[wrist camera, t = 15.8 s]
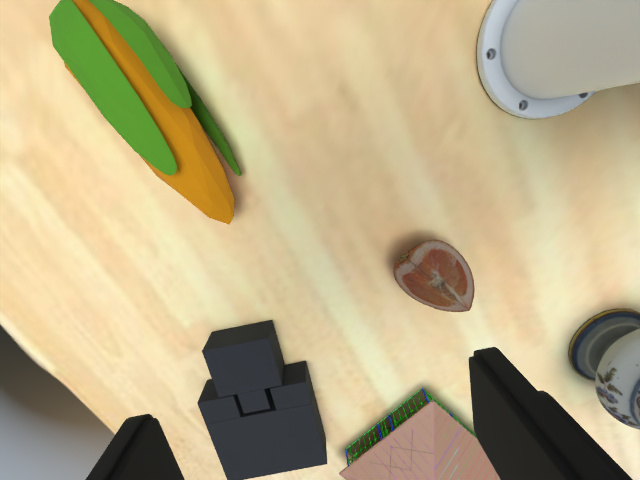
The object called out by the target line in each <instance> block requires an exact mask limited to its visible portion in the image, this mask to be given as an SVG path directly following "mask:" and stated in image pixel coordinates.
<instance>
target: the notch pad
mask: <svg viewBox="0 0 640 480" xmlns="http://www.w3.org/2000/svg"><path fill="white" fill-rule="evenodd" d="M270 391H271V395H272V399H271V406H270V409H265V410H260V411H255V412H249V413H243V410H242V407H241V404H240V401H239V398H238V395H237V394H235V395H230V396H224V397H219V396H218V393H217V391H216V388H215V385H214V382H213V380H212V379H211V380H207V382H206V384H205V386H204V389H203V391H202V393H201V396H200V398H199V400H198V406H199V408H200V411H201V413H202V416H203V418H204V421H205V424H206V426H207V429H208V431H209V434H210V436H211V439H212V442H213V444H214V447H215V449H216V452H217V454H218V457H219V459H220V462H221V465H222V467H223V470H224V472H225V475H226V477H227V480H244V479H249V478H255V477H260V476H265V475H271V474H276V473H281V472H287V471H292V470H297V469H303V468H308V467H313V466H319V465H324V464H327V452H326V437H325V433H324V430H323V426H322V422H321V418H320V414H319V410H318V406H317V402H316V398H315V394H314V390H313V386H312V382H311V378H310V375H309V371H308V367H307V363H306V361H303V362H298V363H293V364H288V365H284V373H283V383H282V385H281V386H276V387H271V388H270Z"/></svg>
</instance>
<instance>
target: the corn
mask: <svg viewBox="0 0 640 480" xmlns="http://www.w3.org/2000/svg"><path fill="white" fill-rule="evenodd" d="M49 19H50V26H51V34H52V41H53V46H54V48H55V49H56V51H57V52H58V53H59V55H60V56H61V58H62V59H63V60H64V63H65V67H66V68H67V69H68V71H69V72H70V73H71V74H72V75H73V77H74V78H75V79H76V80H77V81H78V82H79V84H80V85H81V86H82V87H83V88H84V90H85V91H86V92H87V94H88V95H89V96H90V98H91V99H92V101H93V102H94V103H95V105H96V106H97V108H98V109H99V110H100V112H101V113H102V115H103V116H104V117H105V119H106V120H107V121H108V122H109V123H110V124H111V125H112V126H113V127H114V128H115V130H116V131H117V132H118V133H119V134H120V135H121V136H122V137H123V138H124V140H125V141H126V142H127V143H128V144H129V145H130V146H131V147H132V148H133V149H134V150H135V151H136V152H137V153H138V154H139V155H140V156H141V157H142V159H143V160H144V161H145V162H146V163H147V165H148V166H149V167H150V168H151V169H152V171H153V172H154V173H155V174H156V175H157V176H158V177H159V178H160V179H162V180H163V181H164V182H166V183H167V184H168V185H169V186H171V187H172V188H173V189H175V190H176V191H177V192H179V193H180V194H181V195H182V196H184V197H185V198H186V199H187V200H188V201H190V202H191V203H192V204H193V205H195V206H196V207H197V208H198V209H199V210H201V211H202V212H203V213H204V214H206V215H207V216H208V217H209V218H212V219H215V220H218V221H221V222H224V223H227V224H230V222H231V221H232V219H233V216H234V205H235V199H234V197H233V194H232V191H231V188H230V186H229V183H228V180H227V178H226V175H225V172H224V169H223V167H222V165H221V163H220V161H219V159H218V157H217V156H216V154H215V152H214V150H213V148H212V146H211V144H210V142H209V140H208V138H207V137H206V135H205V133H204V131H203V129H202V127H203V128H204V129H205V131H206V132H207V134H208V135H209V136H210V138H211V139H212V140H213V142H214V143H215V145H216V146H217V147H218V149H219V150H220V152H221V154H222V155H223V157H224V158H225V160H226V161H227V163H228V164H229V166H230V167H231V168H232V170H233V171H234V172H235V173H236V174H237V175H239V176H241V172H240V170H239V168H238V165H237V163H236V161H235V159H234V157H233V155H232V152H231V150H230V148H229V146H228V144H227V142H226V140H225V138H224V136H223V134H222V133H221V131H220V130H219V128H218V126H217V125H216V123H215V122H214V120H213V118H212V117H211V115H210V114H209V112H208V110H207V109H206V107H205V106H204V104H203V102H202V101H201V99H200V98H199V96H198V95H197V94H196V92H195V91H194V89H193V88H192V86H191V85H190V84H189V82H188V81H187V79H186V78H185V76H184V75H183V73H182V72H181V71H180V69H179V68H178V66H177V65H176V63H175V62H174V60H173V59H172V57H171V55H170V54H169V53H168V51H167V50H166V49H165V47H164V46H163V45H162V43H161V42H160V40H159V39H158V38H157V36H156V35H155V34H154V32H153V31H152V30H151V28H150V27H149V26H148V24H147V23H146V22H145V21H144V20H143V19H142V18H141V17H139V16H138V15H137V14H136V13H134V12H133V11H132V10H131V9H129V8H128V7H127V6H125V5H122V4H120V3H118V2H116V1H114V0H61V1H60V2H59V3H58V4H57V6H56V7H55V9H54V10H53V12H52V13H51V14H50V16H49ZM199 122H200V123H199ZM200 124H201V125H202V127H201V125H200Z"/></svg>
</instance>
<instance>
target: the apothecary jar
mask: <svg viewBox="0 0 640 480" xmlns="http://www.w3.org/2000/svg"><path fill="white" fill-rule="evenodd" d="M569 359H570V362H571V365H572V367H573V369H574V370H575V371H576V372H577V373H578V374H579V375H581V376H582V377H584V378H587V379H589V380H594V381H595V387H596V393H597V396H598V399H599V401H600V402H601V404H602V405H603V407H604V408H605V409H606V410H607V411H608V412H609V413H610V414H611V415H612V416H613V417H614V418H616V419H617V420H619V421H620V422H622V423H624V424H626V425H628V426H630V427H633V428H636V429H640V313H638V312H635V311H633V310H627V309H615V310H609V311H606V312H603V313H600V314H598V315H596V316H594V317H593V318H591V319H590V320H588V321H587V322H586V323H585V324H584V325H583V326H582V327H581V328H580V329H579V330H578V331H577V333H576V334H575V336H574V337H573V339H572V342H571V344H570V350H569Z"/></svg>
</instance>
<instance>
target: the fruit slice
mask: <svg viewBox="0 0 640 480" xmlns="http://www.w3.org/2000/svg"><path fill="white" fill-rule="evenodd" d="M394 275H395V279H396V281H397V283H398V284H399V285H400V287H401V288H402V289H403V290H404V291H405V292H406V293H407V294H408V295H409V296H411V297H412V298H413V299H415V300H417V301H419V302H421V303H423V304H425V305H428V306H430V307H433V308H435V309H439V310H443V311H451V312H464V311H469V310H470V308H471V306H472V302H473V298H474V280H473V276H472V273H471V270H470V268H469V266H468V264H467V262H466V261H465V259H464V258H463V256H462V255H461V254H460V253H459V252H458V251H457V250H456V249H455V248H453V247H452V246H450V245H449V244H447V243H445V242H443V241H439V240H430V241H426V242H424V243H422V244H420V245H418V246H416V247H415V248H413V249H411V250H410V251H409V252H408V253H406V254H405V255H404V256H403V255H402V256H401V260H399V261H398V262H397V263H396V265H395V267H394Z"/></svg>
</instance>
